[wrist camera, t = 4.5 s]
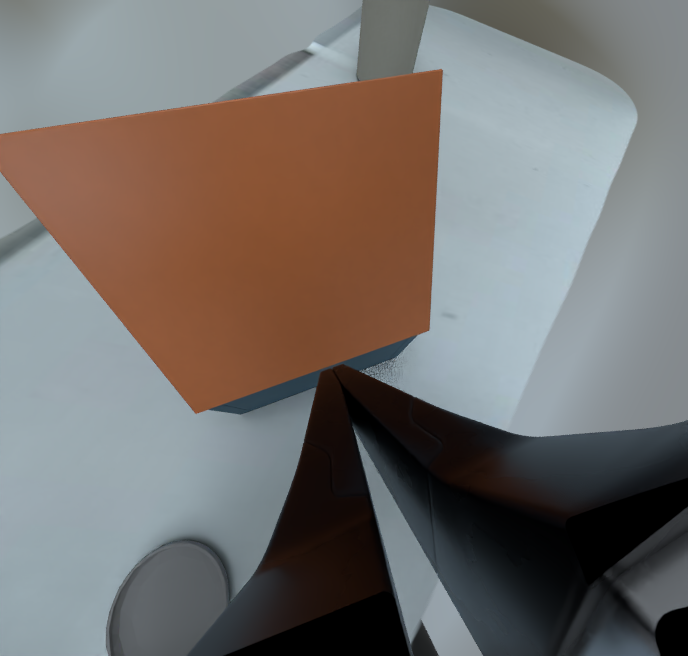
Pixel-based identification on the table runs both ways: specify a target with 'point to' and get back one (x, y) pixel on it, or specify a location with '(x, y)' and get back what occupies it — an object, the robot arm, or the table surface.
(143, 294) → the box lid
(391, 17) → the travel mug
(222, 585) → the pocket watch
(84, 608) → the table surface
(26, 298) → the table surface
